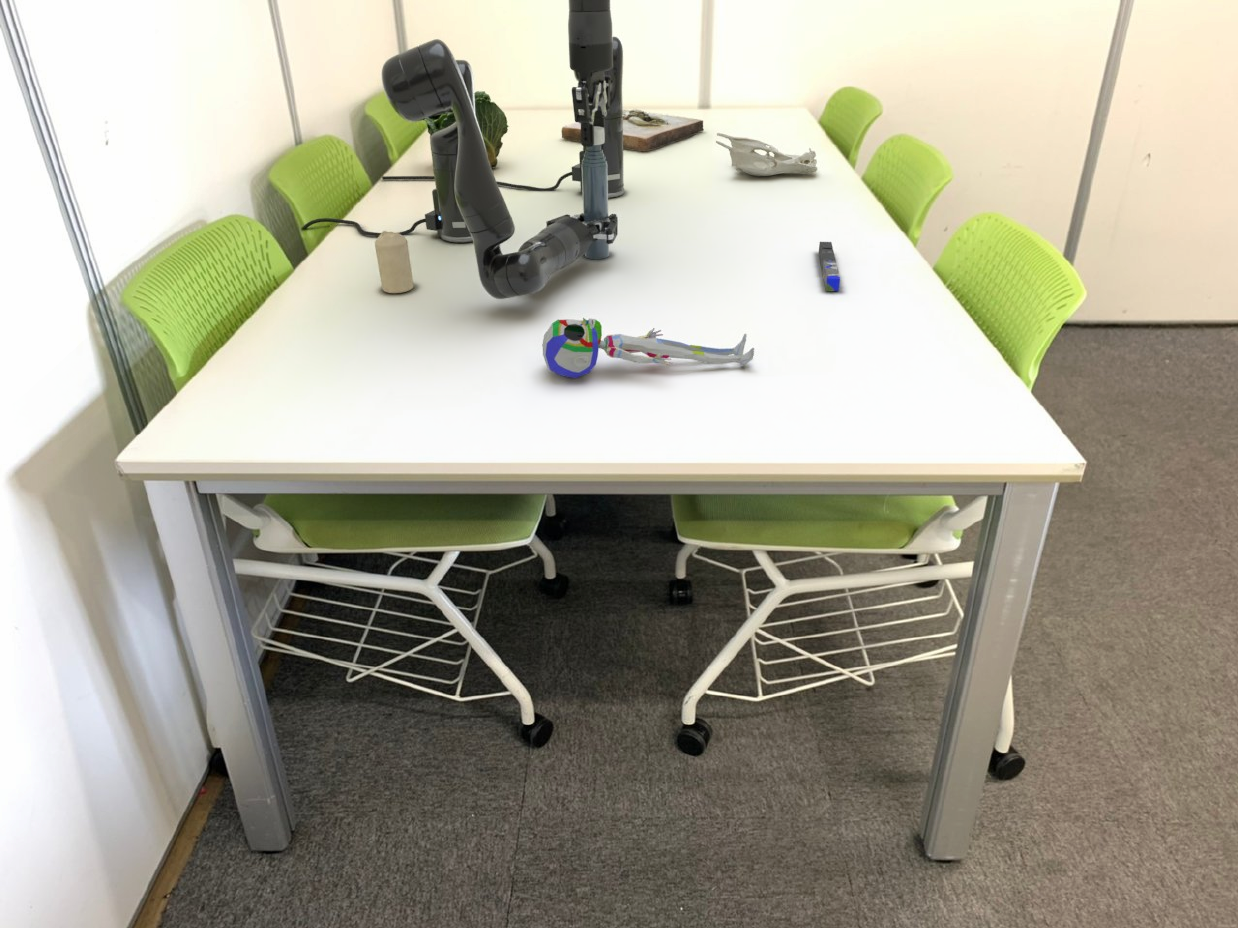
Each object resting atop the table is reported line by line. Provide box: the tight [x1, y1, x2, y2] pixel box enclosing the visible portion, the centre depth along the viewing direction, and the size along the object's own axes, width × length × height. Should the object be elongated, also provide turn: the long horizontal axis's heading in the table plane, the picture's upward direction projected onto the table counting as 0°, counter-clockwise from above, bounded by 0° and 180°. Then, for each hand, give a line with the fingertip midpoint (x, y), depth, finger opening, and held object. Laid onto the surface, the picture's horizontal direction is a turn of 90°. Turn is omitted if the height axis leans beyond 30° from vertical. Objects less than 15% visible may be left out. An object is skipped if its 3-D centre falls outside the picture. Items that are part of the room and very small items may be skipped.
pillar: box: [818, 241, 841, 292], centre depth 163 cm, size 2×2×20 cm
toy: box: [541, 317, 755, 379], centre depth 130 cm, size 10×8×30 cm
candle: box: [374, 230, 414, 294], centre depth 157 cm, size 6×6×10 cm
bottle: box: [582, 144, 610, 260], centre depth 167 cm, size 5×5×23 cm
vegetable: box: [423, 90, 510, 169], centre depth 225 cm, size 20×19×20 cm
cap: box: [594, 126, 605, 145], centre depth 161 cm, size 4×4×2 cm
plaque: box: [561, 108, 705, 152], centre depth 257 cm, size 30×7×30 cm
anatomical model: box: [715, 132, 818, 177], centre depth 219 cm, size 15×9×25 cm
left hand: (602, 217), depth 172 cm, fingers closed on bottle, 4 cm apart
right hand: (593, 142), depth 162 cm, fingers open, 5 cm apart
